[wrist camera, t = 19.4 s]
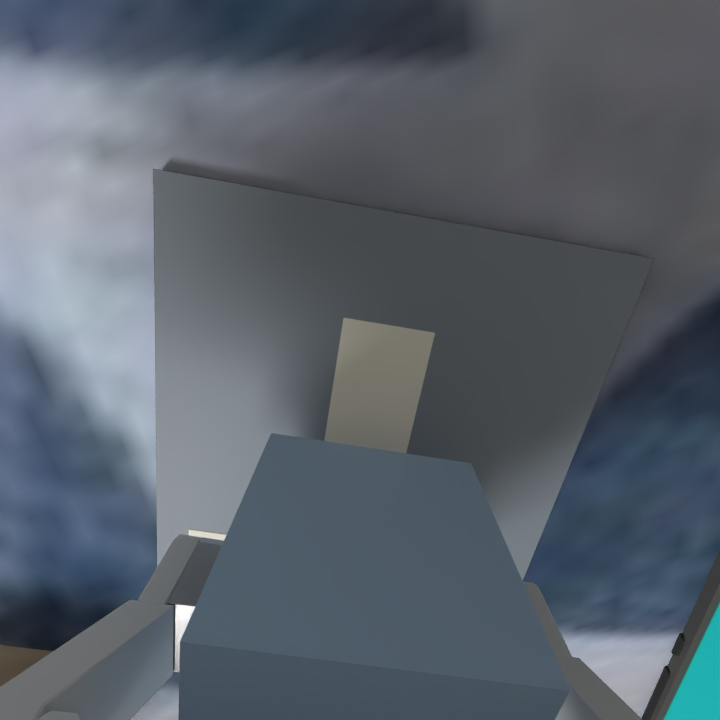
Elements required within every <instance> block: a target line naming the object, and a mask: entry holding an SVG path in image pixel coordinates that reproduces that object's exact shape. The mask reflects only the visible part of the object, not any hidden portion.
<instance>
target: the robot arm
mask: <svg viewBox="0 0 720 720" xmlns="http://www.w3.org/2000/svg"><path fill="white" fill-rule="evenodd" d="M223 542H224V541H223V540H216V539H210V538H204V537H196V536H190V535H184V534H179V535H178V536H177V537H176V538H175V539H174V540H173V542H172V543H171V545H170V547H169V548H168V550H167V552H166V553H165V555H164V557H163V558H162V560H161V562H160V563H159V565H158V567H157V568H156V570H155V572H154V573H153V575H152V577H151V578H150V580H149V582H148V583H147V585H146V587H145V588H144V590H143V592H142V593H141V595H140V597H139V598H138V600H137V601H136V600H129V601H127V602H126V603H124V604H123V605H121V606H120V607H118V608H117V609H115V610H114V611H112V612H111V613H109V614H108V615H106V616H105V617H103V618H102V619H100V620H99V621H98V622H96V623H95V624H93V625H92V626H90V627H89V628H87V629H86V630H84V631H83V632H81V633H80V634H78V635H77V636H75V637H74V638H72V639H71V640H69V641H68V642H66V643H65V644H63V645H62V646H60V647H59V648H57V649H56V650H54V651H53V652H51V653H50V654H48V655H47V656H45V657H44V658H43V659H41V660H40V661H38V662H37V663H35V664H34V665H32V666H31V667H29V668H28V669H26V670H25V671H23V672H22V673H20V674H19V675H17V676H16V677H14V678H13V679H11V680H10V681H8V682H7V683H5V684H4V685H2V686H1V687H0V720H130V719H131V718H132V717H133V716H134V715H135V713H136V712H137V711H138V710H139V709H140V708H141V707H142V706H143V705H144V704H145V703H146V702H147V701H148V700H149V699H150V698H151V697H152V696H153V695H154V694H155V693H156V692H157V691H158V690H159V689H160V688H161V687H162V686H163V685H164V684H165V682H166V681H167V680H168V679H169V678H170V677H171V676H172V675H173V672H179V667H180V640H181V638H182V636H183V633H184V631H185V629H186V627H187V624H188V622H189V620H190V617H191V615H192V613H193V611H194V608H195V606H196V604H197V601H198V599H199V597H200V595H201V592H202V590H203V588H204V585H205V583H206V581H207V579H208V576H209V574H210V572H211V569H212V567H213V565H214V563H215V560H216V558H217V556H218V553H219V551H220V549H221V547H222V544H223ZM523 583H524V586H525V588H526V590H527V592H528V595H529V597H530V599H531V602H532V604H533V606H534V608H535V611H536V613H537V615H538V618H539V620H540V622H541V625H542V627H543V629H544V631H545V634H546V636H547V638H548V641H549V643H550V645H551V647H552V650H553V652H554V654H555V657H556V659H557V661H558V663H559V666H560V668H561V670H562V673H563V675H564V677H565V680H566V682H567V684H568V686H569V689H570V692H569V694H568V696H567V698H566V700H565V702H564V704H563V705H562V707H561V709H560V711H559V713H558V715H557V717H556V718H555V720H642V719H641V718H640V717H639V716H638V715H637V714H636V713H635V712H634V711H633V710H632V709H631V708H630V707H629V706H628V705H627V704H626V703H625V702H624V701H623V700H622V699H621V698H620V697H619V696H618V695H617V694H615V693H614V692H613V691H612V690H611V689H610V688H609V687H608V686H607V685H606V684H605V683H604V682H603V681H602V680H601V679H600V678H599V677H598V676H597V675H596V674H595V673H594V672H593V671H592V670H591V669H590V668H589V667H588V666H587V665H586V664H585V663H584V662H583V661H581V660H580V659H579V658H575V657H572V656H571V654H570V652H569V650H568V647H567V645H566V643H565V641H564V639H563V637H562V635H561V633H560V631H559V629H558V627H557V625H556V623H555V620H554V618H553V616H552V614H551V612H550V610H549V608H548V606H547V604H546V602H545V600H544V598H543V596H542V593H541V591H540V589H539V587H538V586H537V585H536V584H535V583H530V582H523Z"/></svg>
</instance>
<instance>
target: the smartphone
mask: <svg viewBox="0 0 720 720" xmlns="http://www.w3.org/2000/svg"><path fill="white" fill-rule="evenodd" d="M672 654H673V655H672V657H671V660H670V662H669V664H668V666H665V667H664V669H663V672H662V674H661V676H660V678H659V681H658V683H657V685H656V687H655V689H654V692H653V694H652V696H651V698H650V701H649V703H648V705H647V707H646V710H645V712H644V714H643V716H642V718H641V719H642V720H720V551H719V553H718V556H717V558H716V560H715V562H714V564H713V567H712V569H711V571H710V573H709V576H708V578H707V580H706V582H705V584H704V587H703V589H702V591H701V593H700V595H699V598H698V600H697V602H696V604H695V607H694V609H693V611H692V613H691V615H690V618H689V620H688V622H687V624H686V626H685V629H684V631H683V633H682V634H679V636H678V638H677V640H676V643H675V645H674V647H673V649H672Z"/></svg>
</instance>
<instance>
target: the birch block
mask: <svg viewBox="0 0 720 720" xmlns="http://www.w3.org/2000/svg"><path fill="white" fill-rule="evenodd" d="M51 652H53V651H46V650H38V649H30V648H22V647H14V646H6V645H0V687H1V686H2V685H4V684H5V683H7V682H8V681H10V680H11V679H13V678H14V677H16V676H17V675H19V674H20V673H22V672H23V671H25V670H26V669H28V668H29V667H31V666H32V665H34V664H35V663H37V662H38V661H40V660H41V659H43V658H44V657H45V656H47V655H48V654H50V653H51Z"/></svg>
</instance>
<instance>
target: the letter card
mask: <svg viewBox="0 0 720 720" xmlns="http://www.w3.org/2000/svg"><path fill="white" fill-rule="evenodd" d="M153 186H154V284H155V381H156V478H157V567H158V565H159V563H160V562H161V560H162V558H163V557H164V555H165V553H166V552H167V550H168V548H169V547H170V545H171V543H172V542H173V540H174V539H175V538H176V537H177V536H178V535H179V534H184V535H190V536H196V537H204V538H210V539H216V540H223V541H224V540H225V537H226V535H227V533H228V531H229V528H230V526H231V524H232V521H233V519H234V517H235V515H236V512H237V510H238V508H239V505H240V503H241V501H242V499H243V496H244V494H245V492H246V489H247V487H248V485H249V483H250V480H251V478H252V476H253V473H254V471H255V469H256V467H257V464H258V462H259V460H260V457H261V455H262V453H263V450H264V448H265V446H266V444H267V441H268V439H269V437H270V434H271V433H274V434H281V435H288V436H294V437H301V438H307V439H314V440H321V441H327V442H334V443H340V444H347V445H354V446H360V447H367V448H374V449H380V450H387V451H393V452H400V453H407V454H413V455H420V456H426V457H433V458H440V459H446V460H453V461H459V462H466V463H471V464H472V466H473V469H474V471H475V473H476V476H477V478H478V480H479V482H480V485H481V487H482V489H483V492H484V494H485V496H486V498H487V501H488V503H489V505H490V508H491V510H492V512H493V514H494V517H495V519H496V521H497V524H498V526H499V528H500V531H501V533H502V535H503V537H504V540H505V542H506V544H507V547H508V549H509V551H510V553H511V556H512V558H513V560H514V563H515V565H516V567H517V570H518V572H519V574H520V576H521V579H522V581H523V578H524V576H525V574H526V571H527V569H528V566H529V564H530V561H531V559H532V557H533V554H534V552H535V549H536V547H537V544H538V542H539V539H540V537H541V535H542V532H543V530H544V527H545V525H546V522H547V520H548V518H549V515H550V513H551V510H552V508H553V505H554V503H555V500H556V498H557V496H558V493H559V491H560V488H561V486H562V483H563V481H564V479H565V476H566V474H567V471H568V469H569V466H570V464H571V461H572V459H573V457H574V454H575V452H576V449H577V447H578V444H579V442H580V439H581V437H582V435H583V432H584V430H585V427H586V425H587V422H588V420H589V418H590V415H591V413H592V410H593V408H594V405H595V403H596V400H597V398H598V396H599V393H600V391H601V388H602V386H603V383H604V381H605V379H606V376H607V374H608V371H609V369H610V366H611V364H612V361H613V359H614V357H615V354H616V352H617V349H618V347H619V344H620V342H621V339H622V337H623V335H624V332H625V330H626V327H627V325H628V322H629V320H630V318H631V315H632V313H633V310H634V308H635V305H636V303H637V300H638V298H639V296H640V293H641V291H642V288H643V286H644V283H645V281H646V279H647V276H648V274H649V271H650V269H651V266H652V264H653V261H654V258H648V257H643V256H637V255H631V254H626V253H620V252H615V251H609V250H603V249H598V248H592V247H587V246H581V245H576V244H570V243H564V242H559V241H553V240H548V239H542V238H537V237H531V236H525V235H520V234H514V233H509V232H503V231H497V230H492V229H486V228H481V227H475V226H470V225H464V224H458V223H453V222H447V221H442V220H436V219H431V218H425V217H419V216H414V215H408V214H403V213H397V212H391V211H386V210H380V209H375V208H369V207H364V206H358V205H352V204H347V203H341V202H336V201H330V200H325V199H319V198H313V197H308V196H302V195H297V194H291V193H285V192H280V191H274V190H269V189H263V188H258V187H252V186H246V185H241V184H235V183H230V182H224V181H219V180H213V179H207V178H202V177H196V176H191V175H185V174H179V173H174V172H168V171H163V170H157V169H153Z"/></svg>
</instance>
